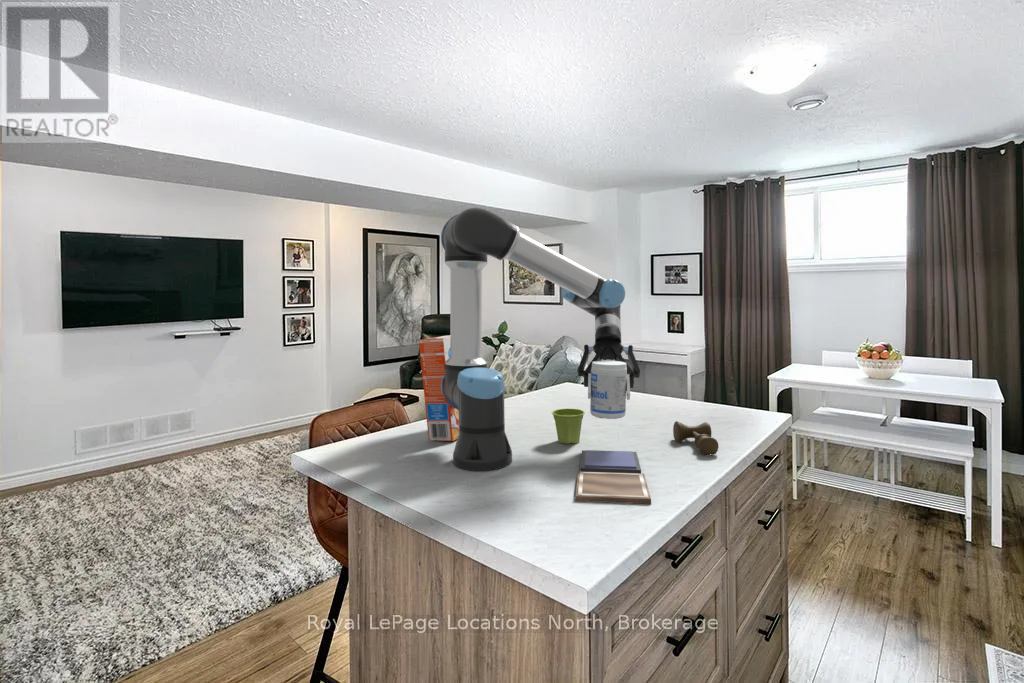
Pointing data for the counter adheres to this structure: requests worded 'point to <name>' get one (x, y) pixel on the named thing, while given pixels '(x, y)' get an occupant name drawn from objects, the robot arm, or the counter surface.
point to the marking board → (612, 487)
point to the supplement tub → (608, 389)
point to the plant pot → (568, 424)
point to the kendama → (697, 436)
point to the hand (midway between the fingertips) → (608, 396)
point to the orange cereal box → (437, 389)
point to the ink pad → (610, 461)
